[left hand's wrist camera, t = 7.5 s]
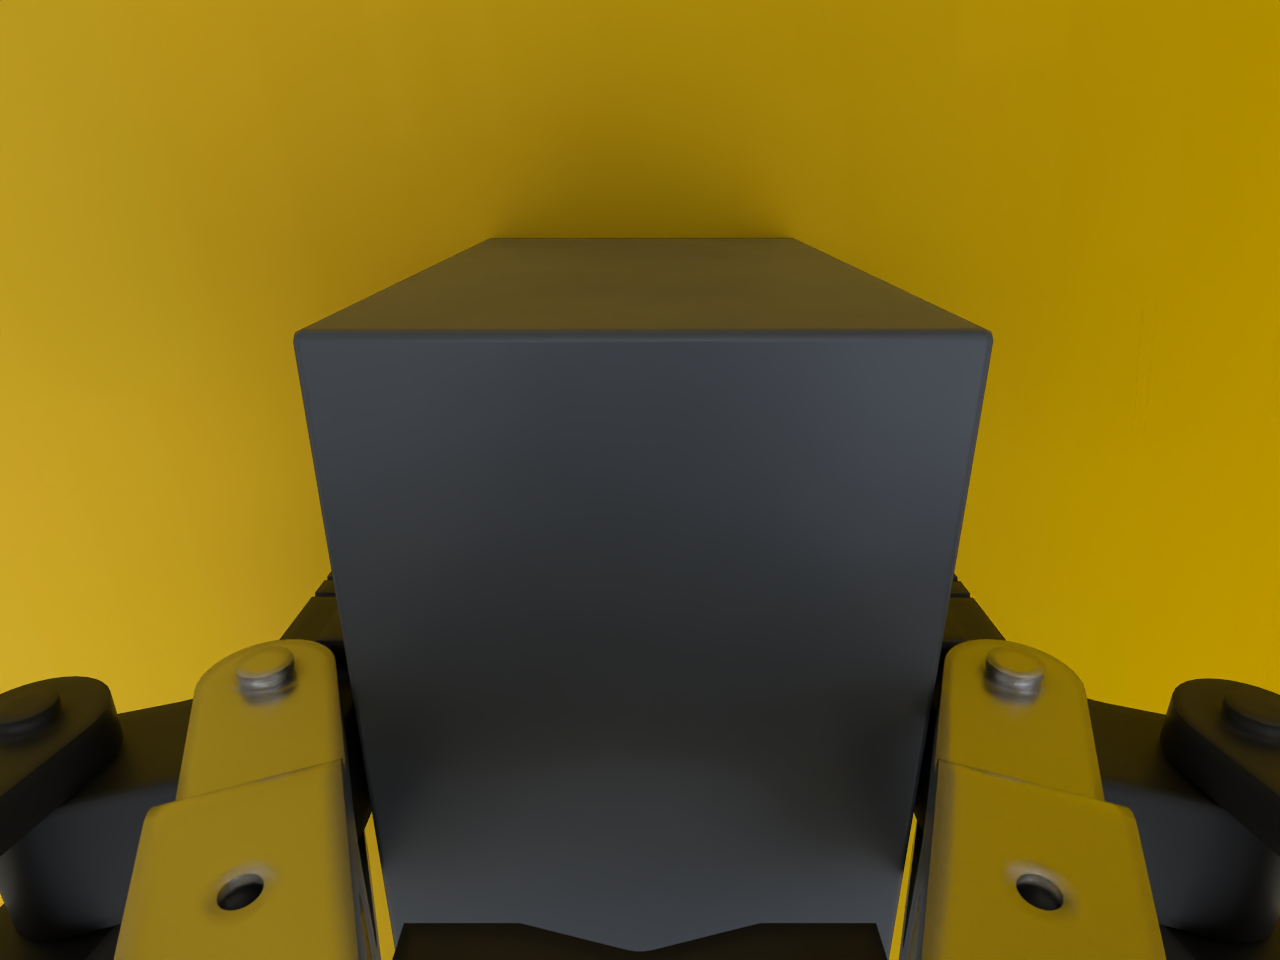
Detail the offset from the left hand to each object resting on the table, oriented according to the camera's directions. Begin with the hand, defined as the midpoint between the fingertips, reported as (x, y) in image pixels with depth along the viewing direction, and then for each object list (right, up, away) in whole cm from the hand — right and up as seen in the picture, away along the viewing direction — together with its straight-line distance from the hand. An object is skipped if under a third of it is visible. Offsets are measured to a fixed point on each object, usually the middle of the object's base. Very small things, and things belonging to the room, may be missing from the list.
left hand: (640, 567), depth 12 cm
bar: (0, -7, +7) cm, 10 cm away
